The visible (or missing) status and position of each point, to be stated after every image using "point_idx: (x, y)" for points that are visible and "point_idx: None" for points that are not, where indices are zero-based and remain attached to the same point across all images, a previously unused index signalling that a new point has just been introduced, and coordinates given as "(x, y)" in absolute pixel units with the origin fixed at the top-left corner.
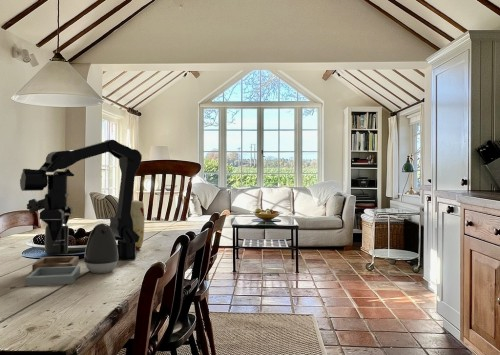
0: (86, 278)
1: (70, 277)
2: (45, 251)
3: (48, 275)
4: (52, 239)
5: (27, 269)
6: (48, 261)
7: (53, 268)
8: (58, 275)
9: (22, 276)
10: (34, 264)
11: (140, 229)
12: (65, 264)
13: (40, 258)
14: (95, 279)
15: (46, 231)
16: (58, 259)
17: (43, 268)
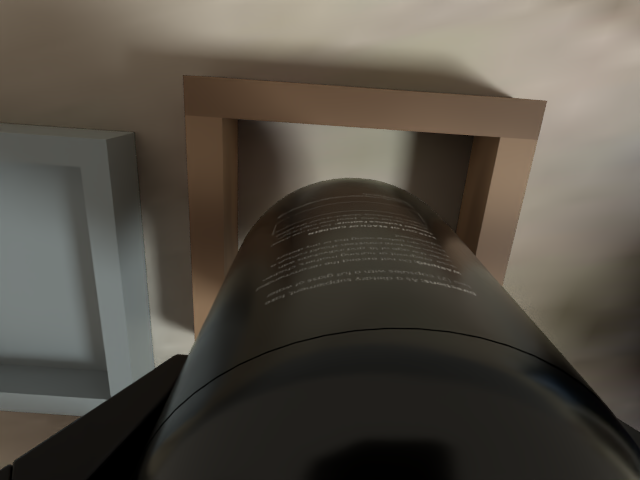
0: (32, 420)
1: None
2: (289, 197)
3: (66, 220)
4: (168, 365)
5: (350, 3)
6: (480, 163)
7: (94, 260)
8: (65, 282)
9: (93, 19)
10: (194, 93)
11: None
12: (197, 330)
13: (479, 97)
14: (11, 458)
15: (227, 347)
16: (469, 248)
17: (84, 189)
